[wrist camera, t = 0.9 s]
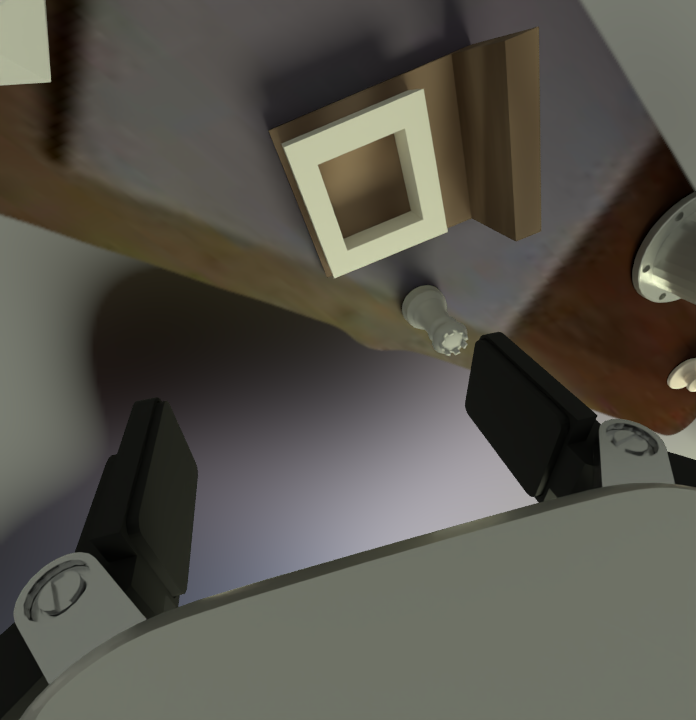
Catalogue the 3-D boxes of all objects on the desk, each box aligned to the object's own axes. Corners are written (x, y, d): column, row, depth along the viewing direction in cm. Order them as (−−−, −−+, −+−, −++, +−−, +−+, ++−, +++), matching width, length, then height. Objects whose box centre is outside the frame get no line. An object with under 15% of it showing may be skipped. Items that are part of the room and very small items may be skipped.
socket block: (408, 90, 27) (423, 88, 25) (433, 222, 33) (447, 231, 31) (281, 143, 27) (283, 147, 25) (328, 265, 33) (334, 278, 31)
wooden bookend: (471, 44, 27) (538, 26, 21) (487, 207, 34) (541, 231, 28) (268, 130, 28) (272, 138, 21) (325, 273, 35) (342, 312, 28)
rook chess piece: (397, 290, 37) (427, 330, 31) (439, 277, 37) (478, 313, 31) (403, 327, 40) (432, 371, 33) (443, 315, 40) (479, 356, 34)
